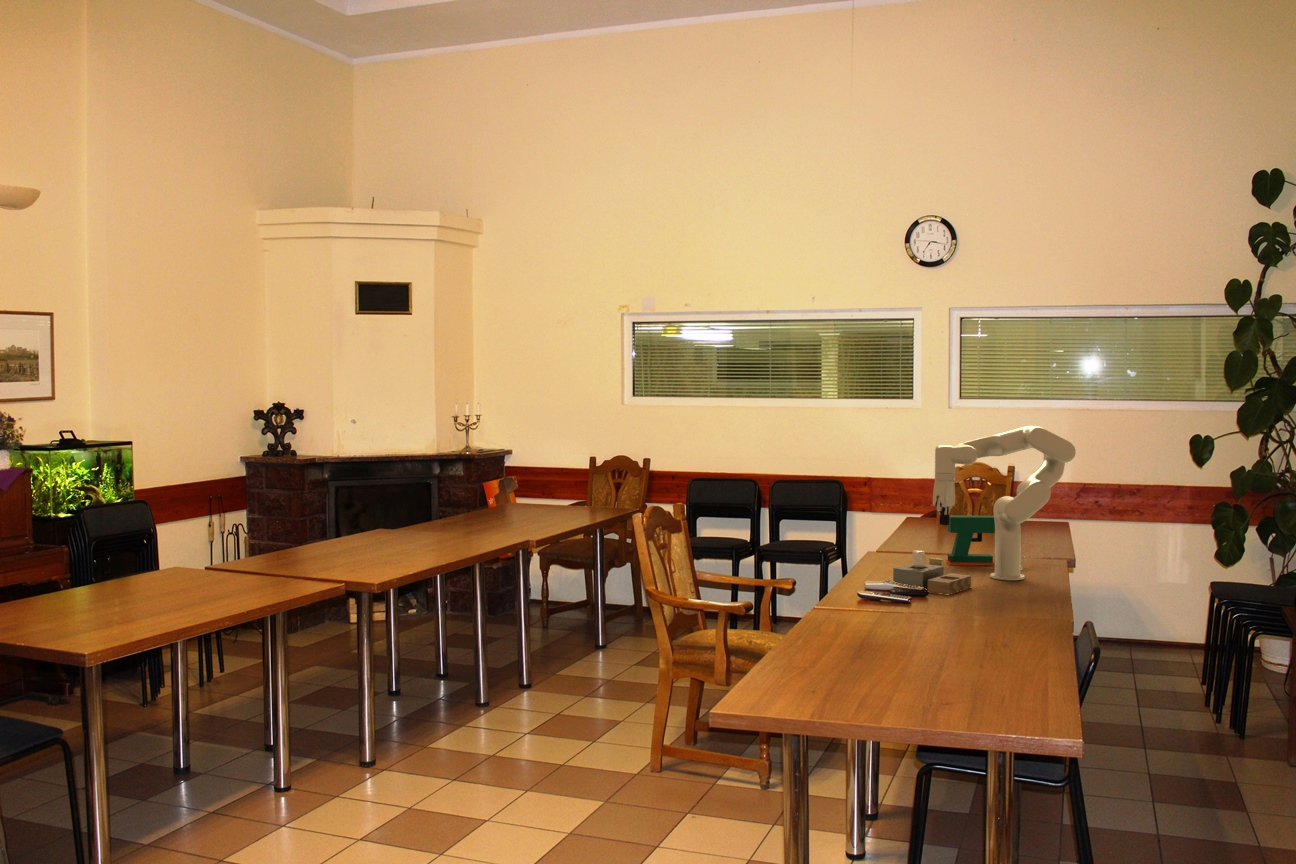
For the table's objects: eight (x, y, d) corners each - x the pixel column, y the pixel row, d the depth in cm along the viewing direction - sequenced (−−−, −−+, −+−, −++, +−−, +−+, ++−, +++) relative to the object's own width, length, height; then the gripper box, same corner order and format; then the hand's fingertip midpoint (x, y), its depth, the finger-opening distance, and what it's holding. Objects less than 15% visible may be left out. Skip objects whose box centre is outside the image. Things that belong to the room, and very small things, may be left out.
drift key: (931, 575, 408) (931, 557, 408) (943, 577, 405) (943, 559, 404) (921, 578, 403) (921, 560, 402) (933, 580, 399) (933, 561, 399)
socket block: (914, 580, 406) (914, 562, 405) (943, 584, 398) (943, 566, 397) (893, 586, 394) (893, 568, 394) (922, 591, 386) (922, 571, 385)
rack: (950, 585, 397) (950, 573, 396) (971, 588, 391) (971, 575, 391) (927, 592, 383) (927, 580, 383) (948, 595, 378) (948, 582, 378)
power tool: (1023, 563, 445) (1024, 515, 444) (1028, 566, 438) (1028, 517, 437) (945, 562, 448) (946, 515, 447) (949, 565, 441) (949, 517, 440)
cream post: (916, 584, 399) (916, 549, 398) (926, 585, 396) (926, 551, 395) (910, 586, 396) (910, 551, 395) (920, 587, 393) (921, 552, 392)
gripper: (945, 475, 417) (944, 522, 418) (926, 478, 406) (926, 525, 407) (962, 476, 412) (962, 523, 413) (944, 479, 401) (944, 527, 402)
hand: (944, 524), depth 410 cm, fingers closed
